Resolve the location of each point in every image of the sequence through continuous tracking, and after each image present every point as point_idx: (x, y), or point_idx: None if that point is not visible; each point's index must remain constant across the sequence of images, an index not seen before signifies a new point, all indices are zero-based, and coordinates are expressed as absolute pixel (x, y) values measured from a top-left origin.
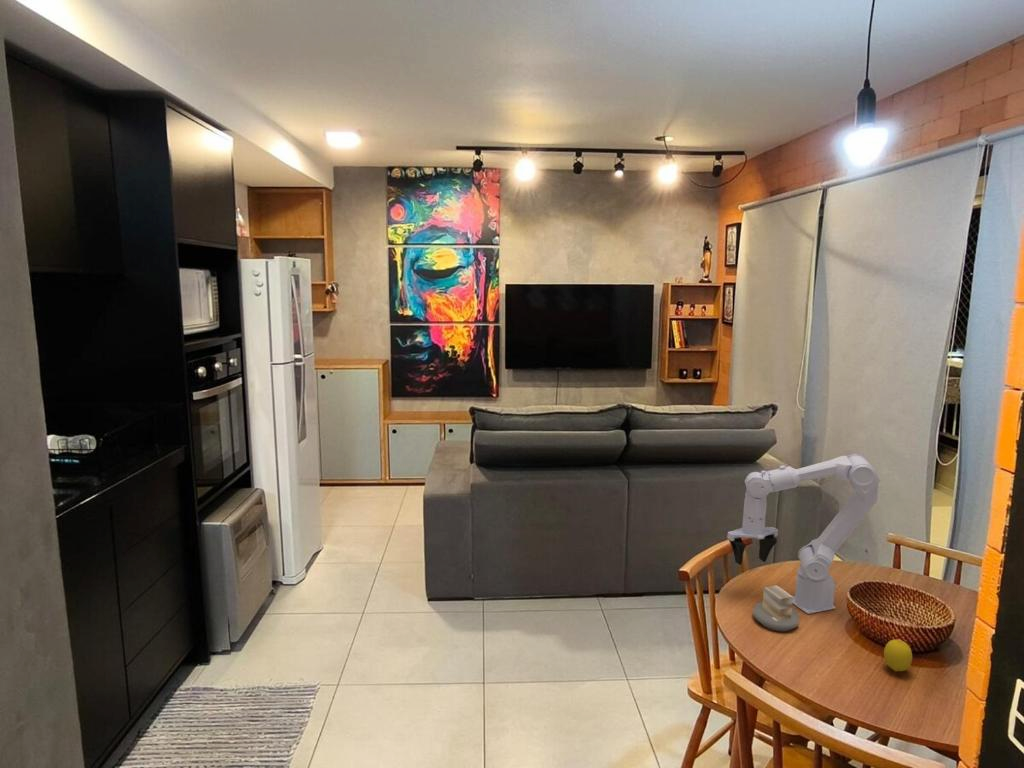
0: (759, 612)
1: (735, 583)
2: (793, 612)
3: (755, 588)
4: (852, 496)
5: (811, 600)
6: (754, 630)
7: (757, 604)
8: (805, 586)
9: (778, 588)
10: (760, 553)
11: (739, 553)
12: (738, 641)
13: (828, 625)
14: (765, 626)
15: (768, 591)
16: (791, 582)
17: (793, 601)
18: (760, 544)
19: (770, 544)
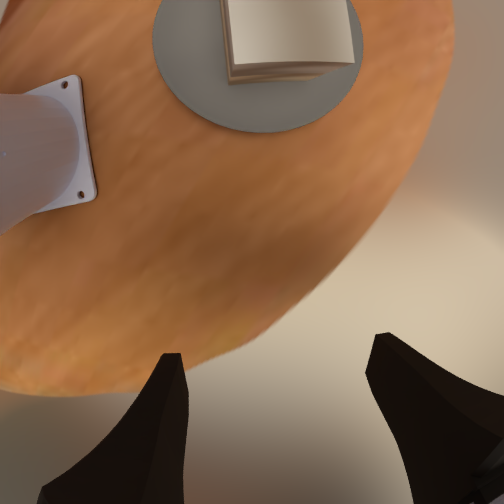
0: None
1: (245, 338)
2: (171, 19)
3: (184, 297)
4: None
5: (31, 96)
6: (376, 22)
7: (310, 115)
8: (13, 117)
9: (254, 19)
10: (184, 422)
11: (462, 380)
12: (448, 8)
13: (59, 6)
14: None
15: (345, 21)
16: (35, 309)
17: (83, 166)
18: (180, 489)
19: (123, 488)
